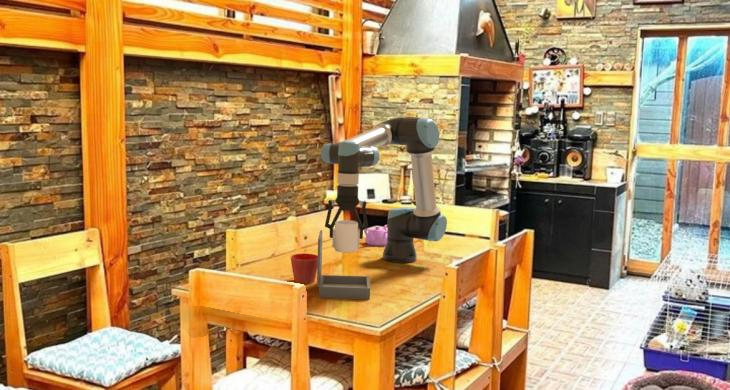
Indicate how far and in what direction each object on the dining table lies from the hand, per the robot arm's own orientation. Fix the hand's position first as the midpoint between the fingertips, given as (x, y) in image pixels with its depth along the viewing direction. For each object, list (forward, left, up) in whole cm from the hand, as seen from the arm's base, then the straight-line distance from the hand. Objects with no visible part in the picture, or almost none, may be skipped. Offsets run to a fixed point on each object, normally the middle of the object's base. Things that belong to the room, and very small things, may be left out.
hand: (345, 247), depth 254 cm
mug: (0, 0, -1) cm, 1 cm away
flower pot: (+15, -14, -17) cm, 27 cm away
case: (+1, -1, -17) cm, 17 cm away
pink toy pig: (-15, -89, -17) cm, 91 cm away
